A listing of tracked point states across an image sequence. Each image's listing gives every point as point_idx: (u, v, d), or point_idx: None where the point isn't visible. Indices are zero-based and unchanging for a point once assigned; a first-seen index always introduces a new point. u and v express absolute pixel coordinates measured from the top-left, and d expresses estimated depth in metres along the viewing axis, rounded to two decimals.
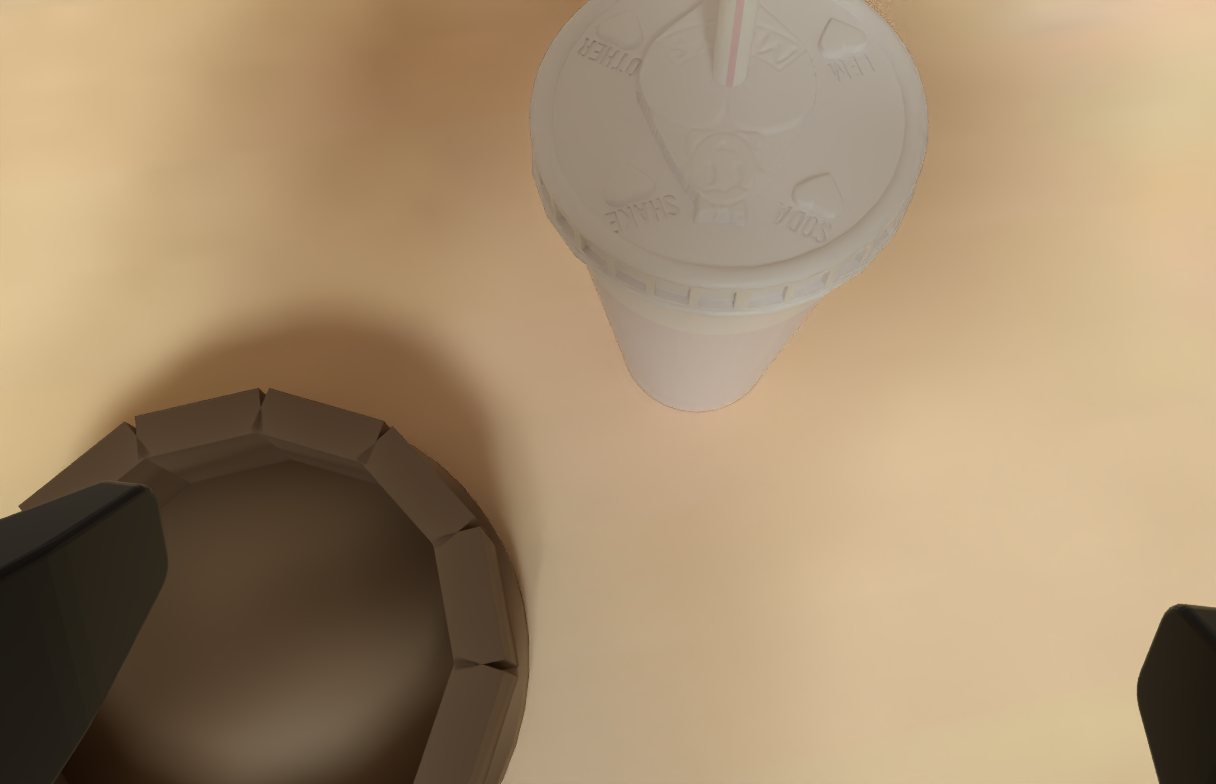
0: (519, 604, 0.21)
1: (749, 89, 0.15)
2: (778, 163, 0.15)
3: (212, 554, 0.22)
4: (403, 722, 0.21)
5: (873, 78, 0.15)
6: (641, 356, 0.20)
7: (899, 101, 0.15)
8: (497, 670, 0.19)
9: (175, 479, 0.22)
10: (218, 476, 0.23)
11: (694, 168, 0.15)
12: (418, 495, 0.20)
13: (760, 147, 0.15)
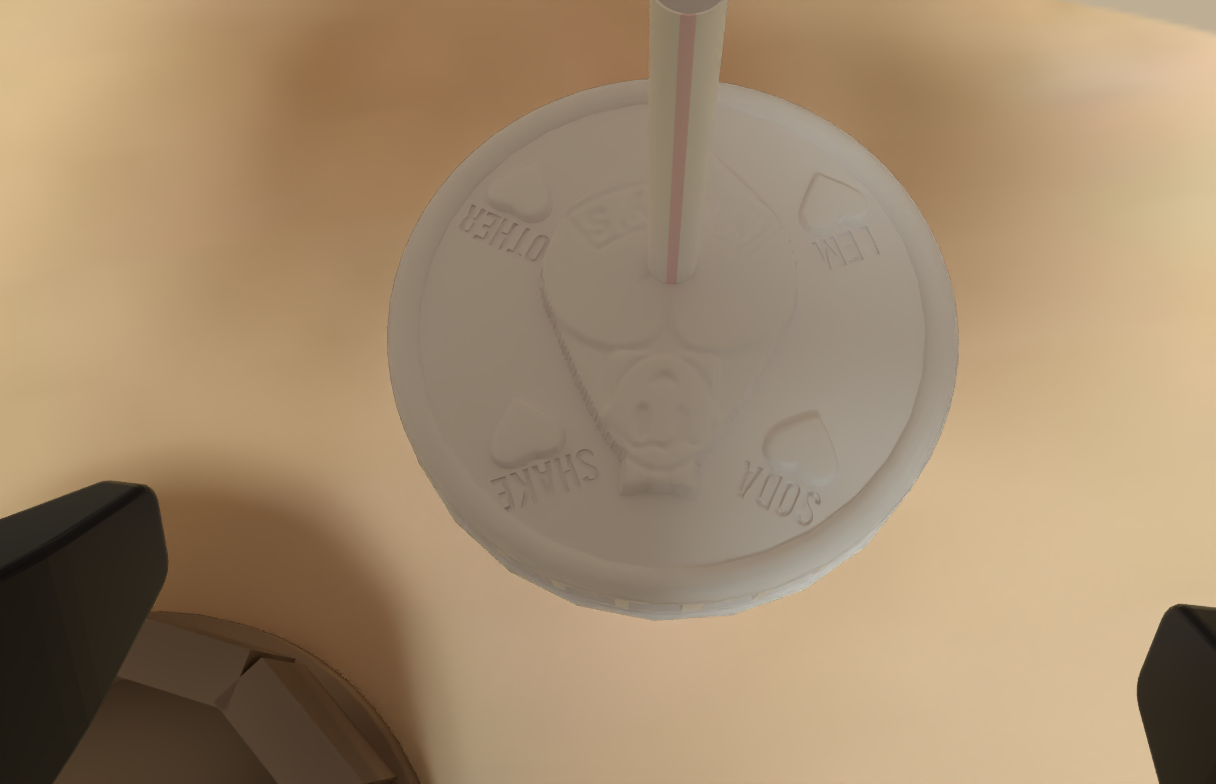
0: None
1: (700, 288, 0.10)
2: (742, 400, 0.10)
3: None
4: None
5: (878, 263, 0.11)
6: None
7: (916, 300, 0.11)
8: None
9: None
10: None
11: (620, 414, 0.10)
12: (291, 754, 0.15)
13: (716, 378, 0.10)
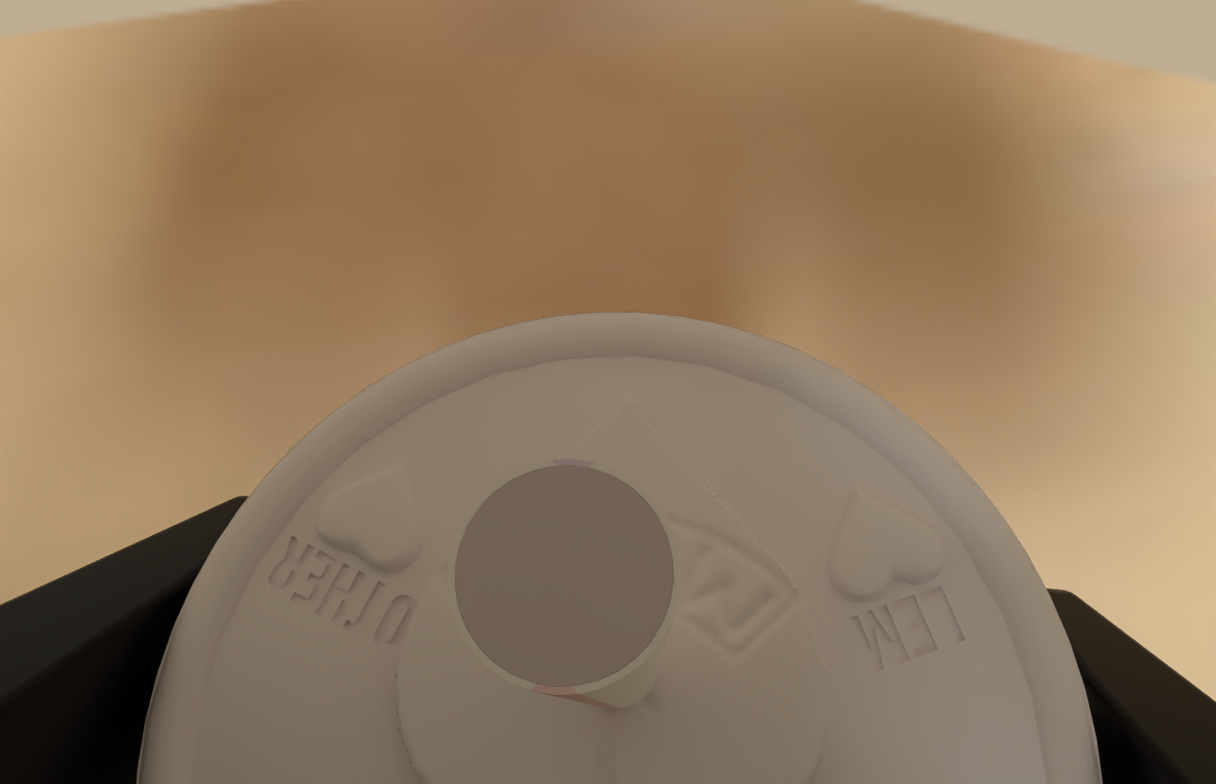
0: None
1: (662, 720, 0.06)
2: None
3: None
4: None
5: (963, 658, 0.06)
6: None
7: (1029, 733, 0.06)
8: None
9: None
10: None
11: None
12: None
13: None
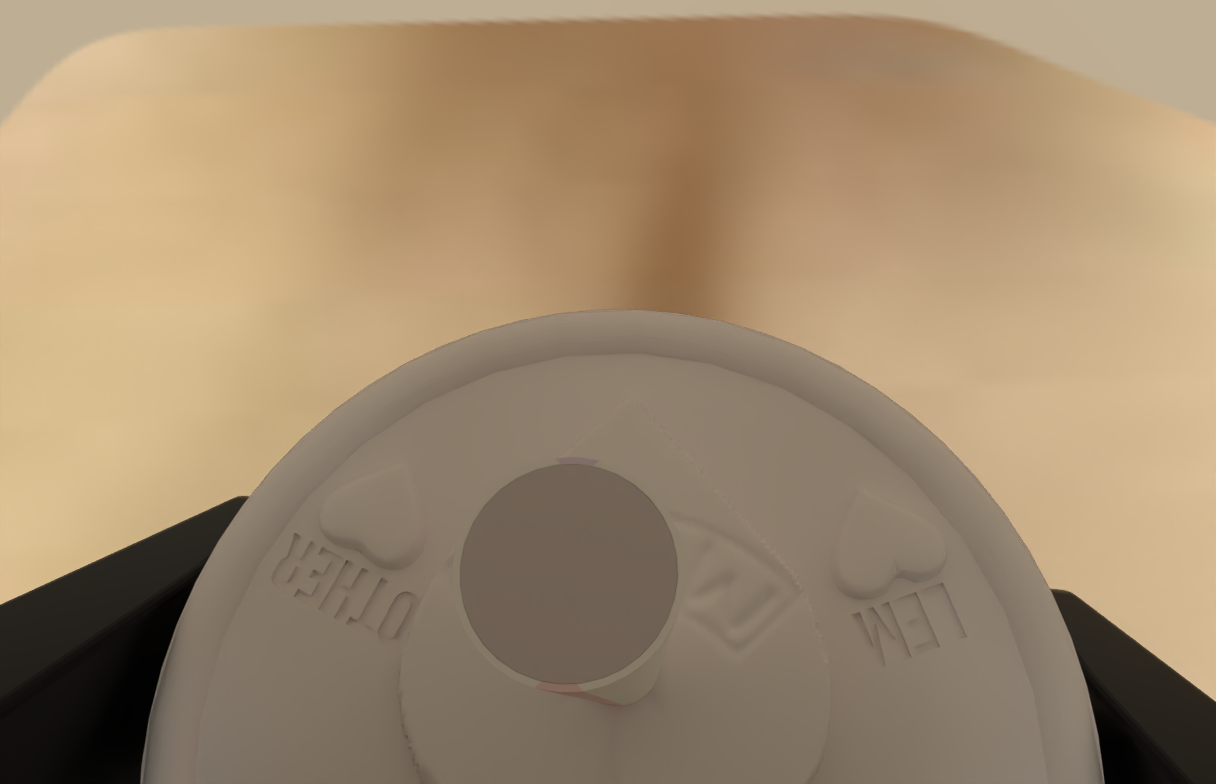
0: None
1: (664, 717, 0.06)
2: None
3: None
4: None
5: (965, 654, 0.06)
6: None
7: (1031, 730, 0.06)
8: None
9: None
10: None
11: None
12: None
13: None
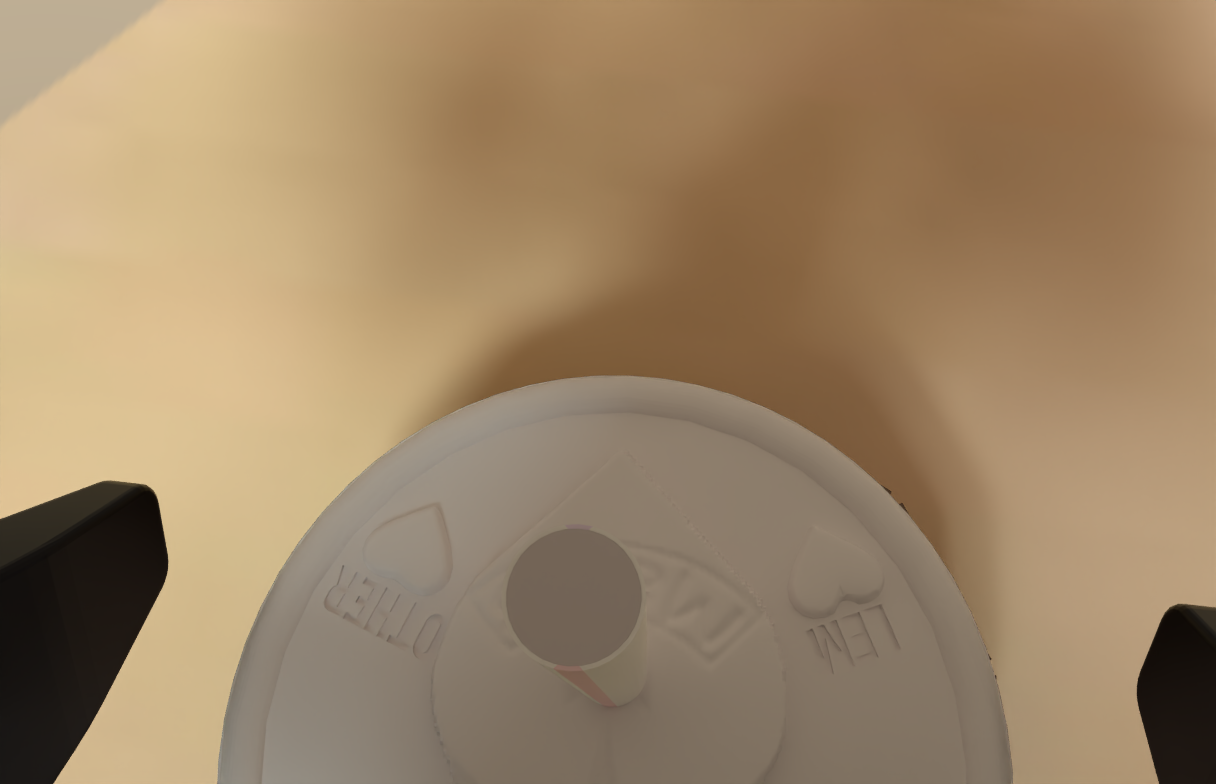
0: None
1: (650, 716, 0.07)
2: None
3: None
4: None
5: (900, 664, 0.08)
6: None
7: (952, 725, 0.08)
8: None
9: None
10: None
11: None
12: None
13: None
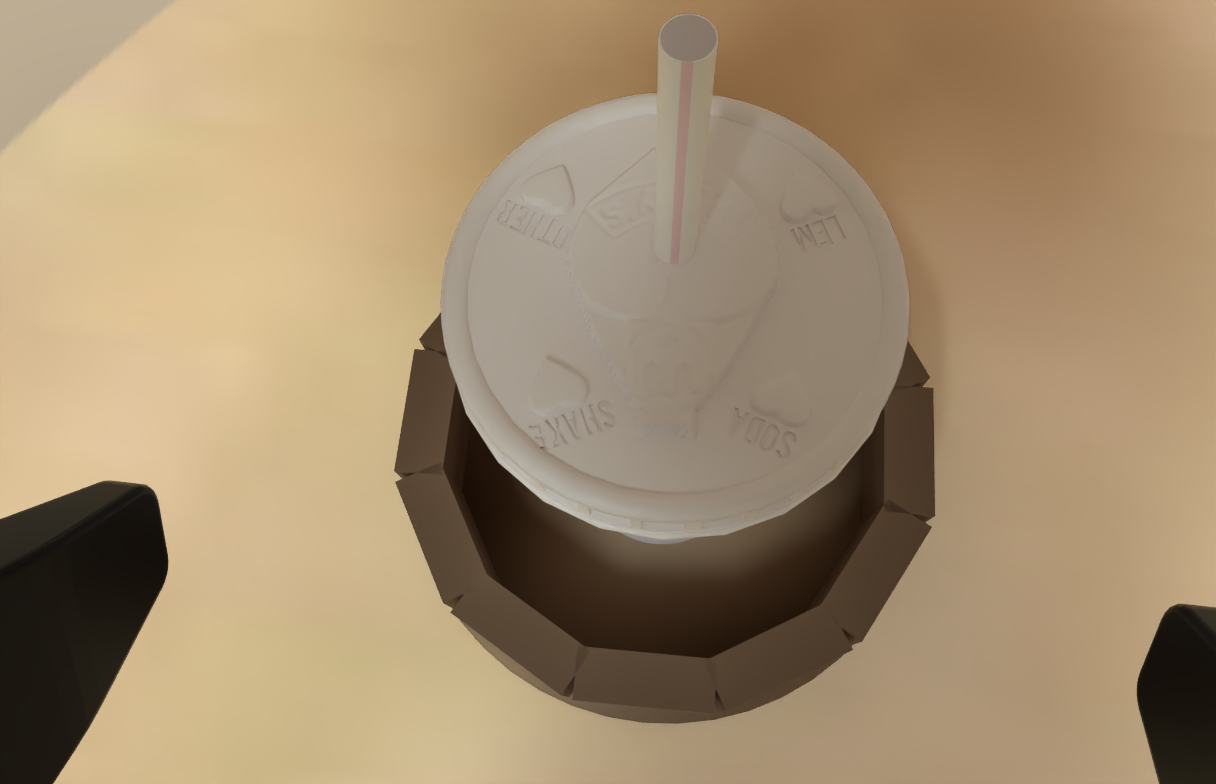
0: None
1: (698, 268, 0.13)
2: (733, 359, 0.12)
3: None
4: (784, 550, 0.21)
5: (845, 246, 0.13)
6: None
7: (875, 276, 0.13)
8: (925, 523, 0.19)
9: None
10: None
11: (633, 370, 0.12)
12: None
13: (711, 341, 0.12)
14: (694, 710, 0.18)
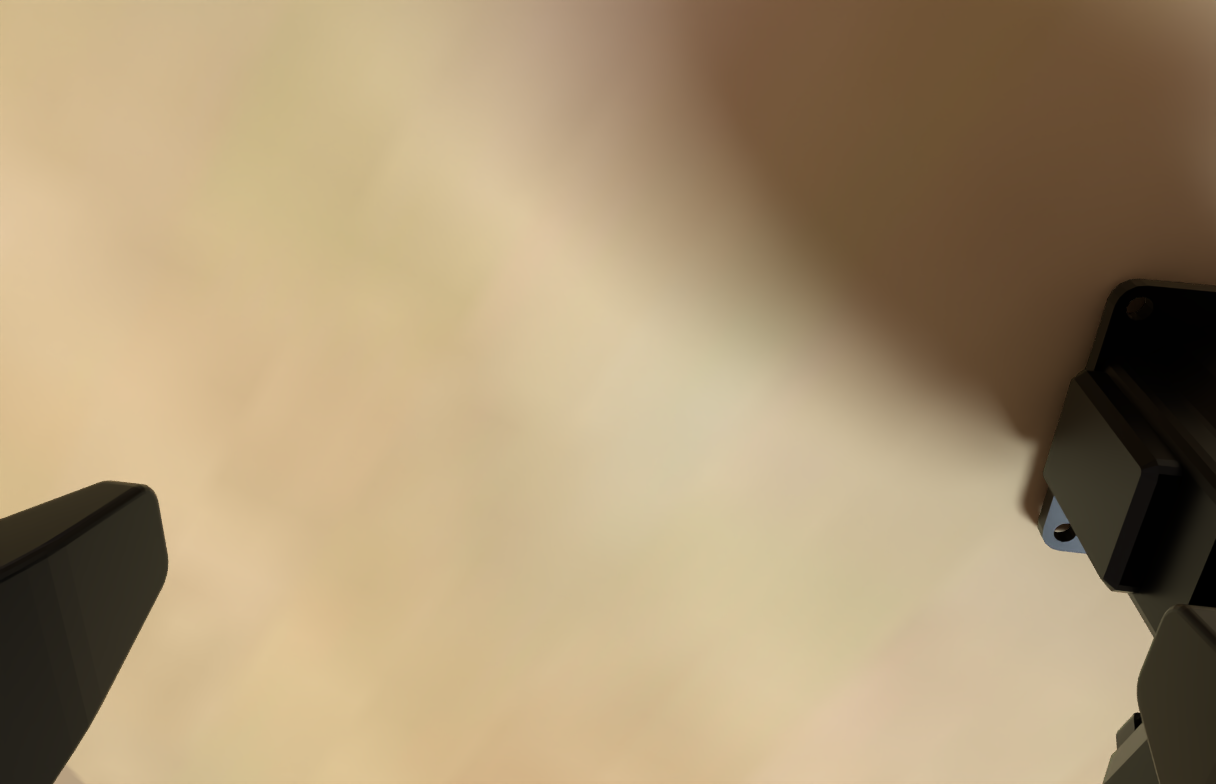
0: None
1: None
2: None
3: None
4: None
5: None
6: None
7: None
8: None
9: None
10: None
11: None
12: None
13: None
14: None
